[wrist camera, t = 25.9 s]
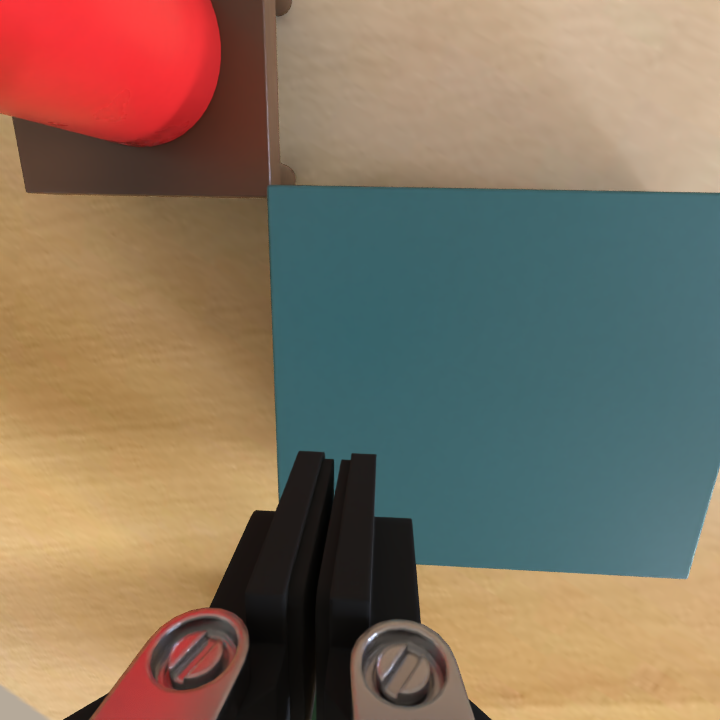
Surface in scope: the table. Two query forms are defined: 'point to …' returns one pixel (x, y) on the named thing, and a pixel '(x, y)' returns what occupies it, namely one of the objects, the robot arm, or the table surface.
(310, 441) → the lid
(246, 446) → the table surface
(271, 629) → the robot arm
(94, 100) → the soda can
